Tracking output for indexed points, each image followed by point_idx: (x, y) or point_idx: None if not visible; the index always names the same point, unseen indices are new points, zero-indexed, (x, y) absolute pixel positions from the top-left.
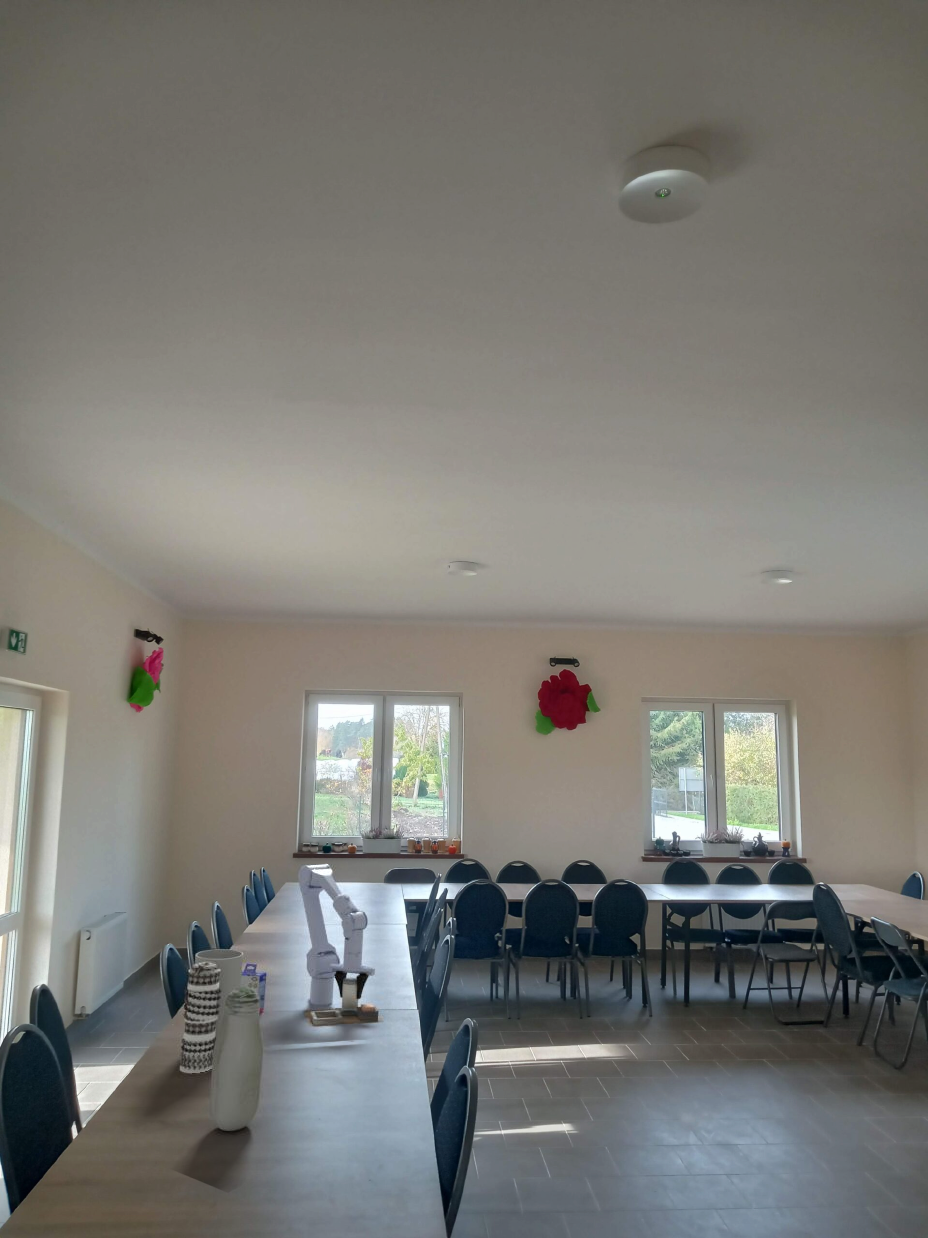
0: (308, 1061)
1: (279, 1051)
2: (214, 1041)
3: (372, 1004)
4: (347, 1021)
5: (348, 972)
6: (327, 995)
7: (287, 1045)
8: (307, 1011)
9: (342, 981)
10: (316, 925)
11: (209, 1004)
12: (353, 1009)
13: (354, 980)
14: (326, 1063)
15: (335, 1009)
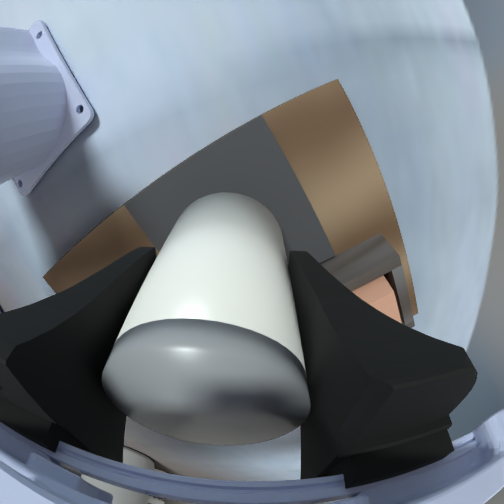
0: (269, 466)
1: (202, 456)
2: (165, 499)
3: (395, 306)
4: None
5: (143, 481)
6: (22, 151)
7: (196, 445)
8: (57, 281)
9: None
10: None
11: None
12: (239, 192)
13: (258, 425)
14: (299, 464)
15: (132, 213)
